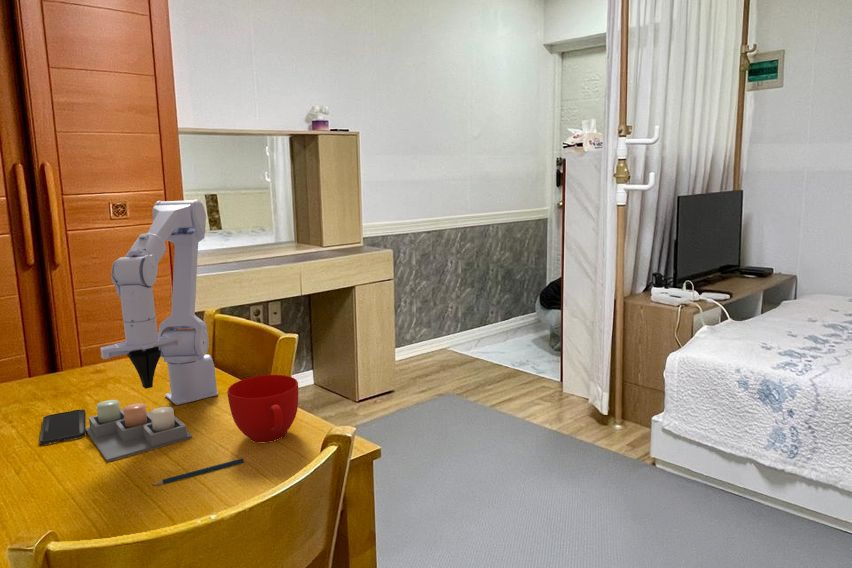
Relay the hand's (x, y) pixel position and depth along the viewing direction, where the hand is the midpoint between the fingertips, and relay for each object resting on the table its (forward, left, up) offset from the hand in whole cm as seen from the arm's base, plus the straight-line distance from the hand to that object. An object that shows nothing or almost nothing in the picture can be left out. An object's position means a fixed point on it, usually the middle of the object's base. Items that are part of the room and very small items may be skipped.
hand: (147, 386), depth 128 cm
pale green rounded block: (+6, -6, -7) cm, 11 cm away
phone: (+13, -14, -10) cm, 22 cm away
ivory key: (-1, +6, -7) cm, 9 cm away
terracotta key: (+3, 0, -7) cm, 7 cm away
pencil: (-1, +24, -10) cm, 26 cm away
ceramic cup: (-16, +20, -9) cm, 27 cm away
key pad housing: (+3, 0, -9) cm, 9 cm away
